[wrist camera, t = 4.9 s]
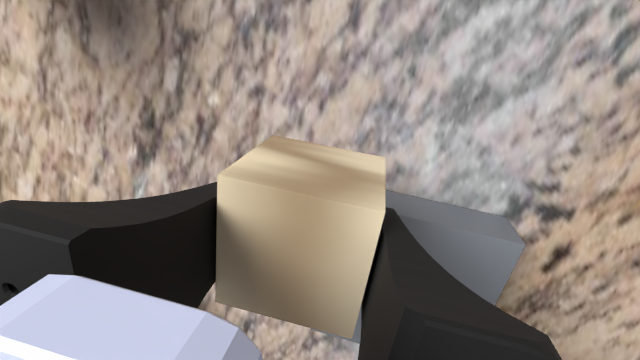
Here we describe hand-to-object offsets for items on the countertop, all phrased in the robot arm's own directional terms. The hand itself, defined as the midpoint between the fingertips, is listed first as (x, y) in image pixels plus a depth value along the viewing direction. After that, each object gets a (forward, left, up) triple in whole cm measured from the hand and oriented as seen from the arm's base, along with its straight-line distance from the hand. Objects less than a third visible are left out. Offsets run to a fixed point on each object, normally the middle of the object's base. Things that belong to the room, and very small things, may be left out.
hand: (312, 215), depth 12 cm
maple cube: (0, 0, -2) cm, 2 cm away
